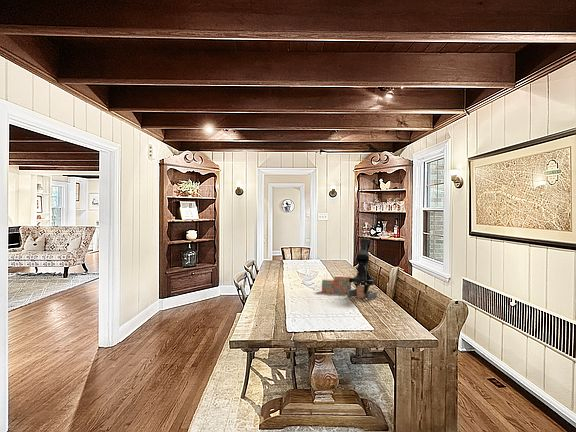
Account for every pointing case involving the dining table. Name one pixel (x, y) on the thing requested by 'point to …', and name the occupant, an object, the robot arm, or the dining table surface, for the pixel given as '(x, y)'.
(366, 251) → the robot arm
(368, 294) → the open-fronted box
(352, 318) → the dining table surface
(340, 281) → the stack of blocks
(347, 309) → the dining table surface
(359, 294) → the terracotta block
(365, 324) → the dining table surface
